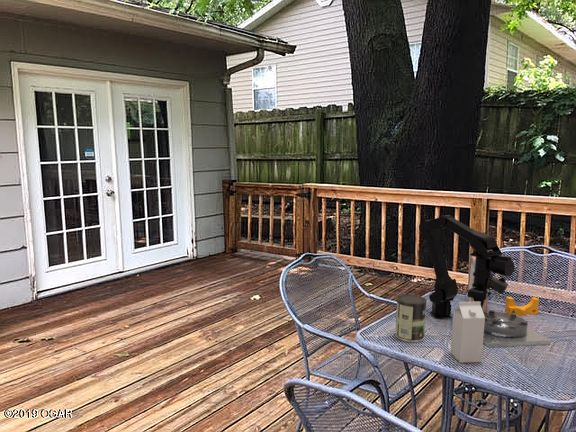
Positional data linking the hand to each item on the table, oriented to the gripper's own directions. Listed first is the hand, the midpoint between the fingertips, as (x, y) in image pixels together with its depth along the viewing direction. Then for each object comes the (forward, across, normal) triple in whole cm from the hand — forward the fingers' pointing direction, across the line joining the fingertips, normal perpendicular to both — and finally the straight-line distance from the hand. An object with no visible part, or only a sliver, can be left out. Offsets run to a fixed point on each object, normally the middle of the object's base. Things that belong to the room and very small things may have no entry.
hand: (479, 311), depth 174 cm
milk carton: (+9, -24, -1) cm, 26 cm away
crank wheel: (+6, +4, -7) cm, 10 cm away
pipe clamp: (+7, +30, -11) cm, 32 cm away
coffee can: (+8, -18, +20) cm, 28 cm away
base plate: (+8, +4, -7) cm, 11 cm away
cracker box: (+7, +27, +6) cm, 29 cm away
